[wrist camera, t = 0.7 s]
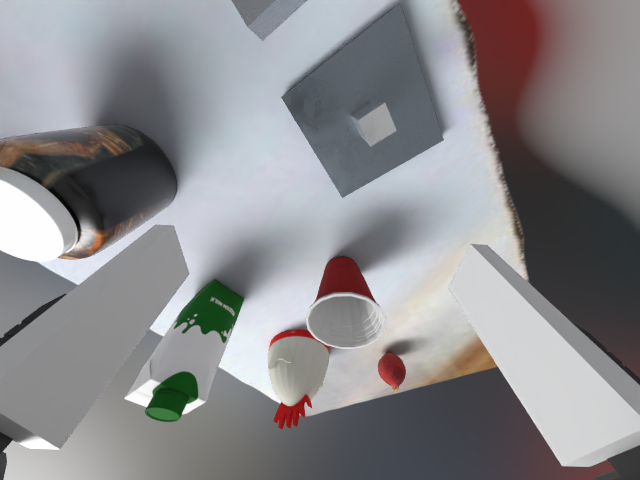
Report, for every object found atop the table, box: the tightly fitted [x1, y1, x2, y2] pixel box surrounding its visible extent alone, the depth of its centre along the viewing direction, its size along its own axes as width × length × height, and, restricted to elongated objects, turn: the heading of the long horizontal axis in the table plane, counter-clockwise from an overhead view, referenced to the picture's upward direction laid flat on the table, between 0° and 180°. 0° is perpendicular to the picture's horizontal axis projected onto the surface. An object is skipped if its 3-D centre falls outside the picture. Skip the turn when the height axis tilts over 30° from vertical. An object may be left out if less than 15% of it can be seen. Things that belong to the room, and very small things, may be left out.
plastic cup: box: [305, 256, 386, 349], centre depth 35 cm, size 11×11×12 cm
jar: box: [0, 125, 176, 261], centre depth 25 cm, size 12×12×15 cm
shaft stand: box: [281, 3, 444, 198], centre depth 24 cm, size 14×14×8 cm
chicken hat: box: [268, 330, 329, 429], centre depth 47 cm, size 14×14×15 cm
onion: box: [378, 353, 406, 391], centre depth 50 cm, size 6×6×8 cm
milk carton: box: [125, 279, 244, 422], centre depth 36 cm, size 9×9×20 cm
